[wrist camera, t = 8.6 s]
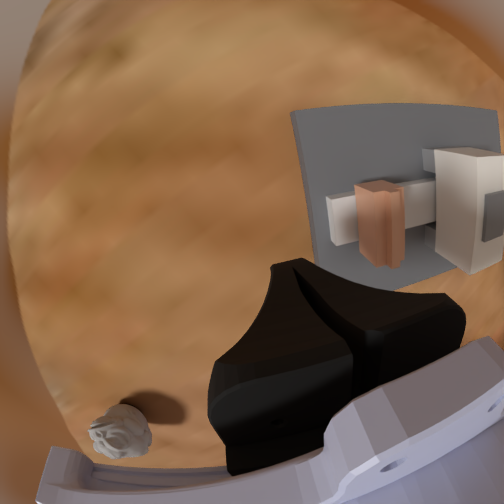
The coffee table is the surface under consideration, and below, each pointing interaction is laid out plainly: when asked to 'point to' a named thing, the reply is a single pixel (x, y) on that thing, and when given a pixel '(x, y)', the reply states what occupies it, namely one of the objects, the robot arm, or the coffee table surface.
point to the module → (467, 206)
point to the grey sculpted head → (121, 432)
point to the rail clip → (381, 222)
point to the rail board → (380, 178)
